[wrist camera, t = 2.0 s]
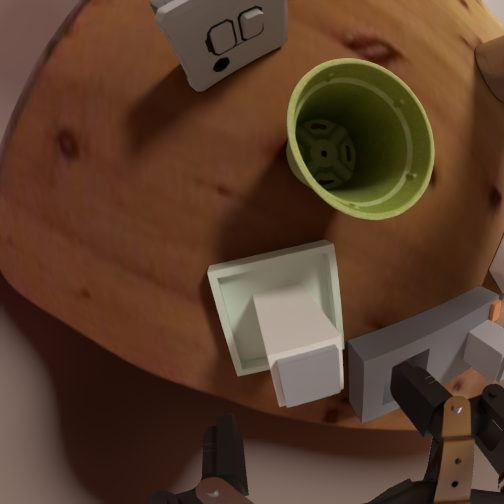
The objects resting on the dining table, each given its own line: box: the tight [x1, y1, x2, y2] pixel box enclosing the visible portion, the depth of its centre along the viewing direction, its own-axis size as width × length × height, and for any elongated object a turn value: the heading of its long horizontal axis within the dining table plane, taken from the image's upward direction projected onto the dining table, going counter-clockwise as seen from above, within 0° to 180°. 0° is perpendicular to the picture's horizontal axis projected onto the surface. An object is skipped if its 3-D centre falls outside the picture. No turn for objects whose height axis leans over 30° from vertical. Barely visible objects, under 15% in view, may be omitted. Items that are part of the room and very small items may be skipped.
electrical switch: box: [150, 0, 287, 92], centre depth 14 cm, size 9×5×9 cm, turn 127°
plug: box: [252, 283, 344, 408], centre depth 18 cm, size 4×4×10 cm
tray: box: [207, 240, 344, 376], centre depth 22 cm, size 10×10×2 cm
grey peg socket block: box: [348, 285, 504, 423], centre depth 21 cm, size 20×9×11 cm, turn 102°
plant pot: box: [286, 58, 434, 220], centre depth 17 cm, size 9×9×9 cm
